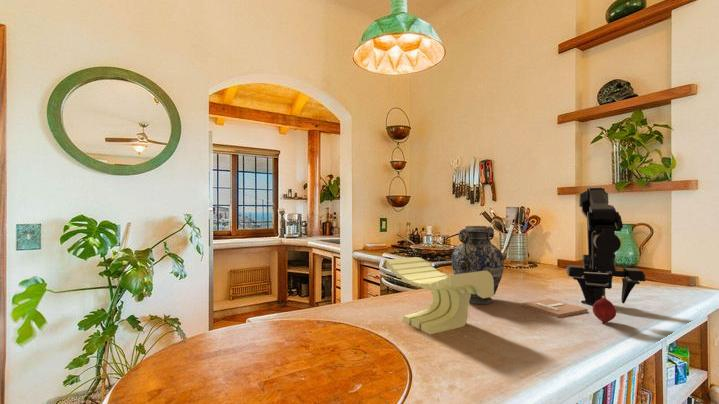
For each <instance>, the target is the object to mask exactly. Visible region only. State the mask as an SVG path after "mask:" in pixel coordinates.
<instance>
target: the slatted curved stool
mask: <svg viewBox="0 0 719 404" xmlns="http://www.w3.org/2000/svg"><path fill="white" fill-rule="evenodd" d="M386 269H388V270H391V273H392V274H395V275H396V278H399V279H401V282H403V283H405V284H408V285H409V284H410V285H411V286H414V287H418V288H420V289H424V290H427V291H430V293H431V294H432V304H431V305H430V306H428V308H426V309H423V310H420V311H418V312H415V313H409V314H405V315H403V318H402V320H401V321H402V322H404V323H405V324H408V325H411V327H414V328H416V329H418V330H421V331H422V332H424V333H426V334H428V335H433V334H434V335H435V334H436V333H441V332H445V331H449V330H454V329H458V328H463V327H465V325H466V324H467V320H468V313H469V305H470V303H469V301H470V297H471V294H477V295H478V296H480V297H481V298H488V297H491V298H494V297H495V295H494V280H493V276H492V275H491V273H490V272H488V271H478V272H470V273H463V274H455V275H454V274H450V275H448V274H446V273H443V272H441V271H439V270H438V268H436V267H433V266H432V264H431V263H428V262H427V260H426V259H424V258H422V257H418V256H413V257H403V258H402V257H401V258H391V259H390V258H389V259H386Z"/></svg>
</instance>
